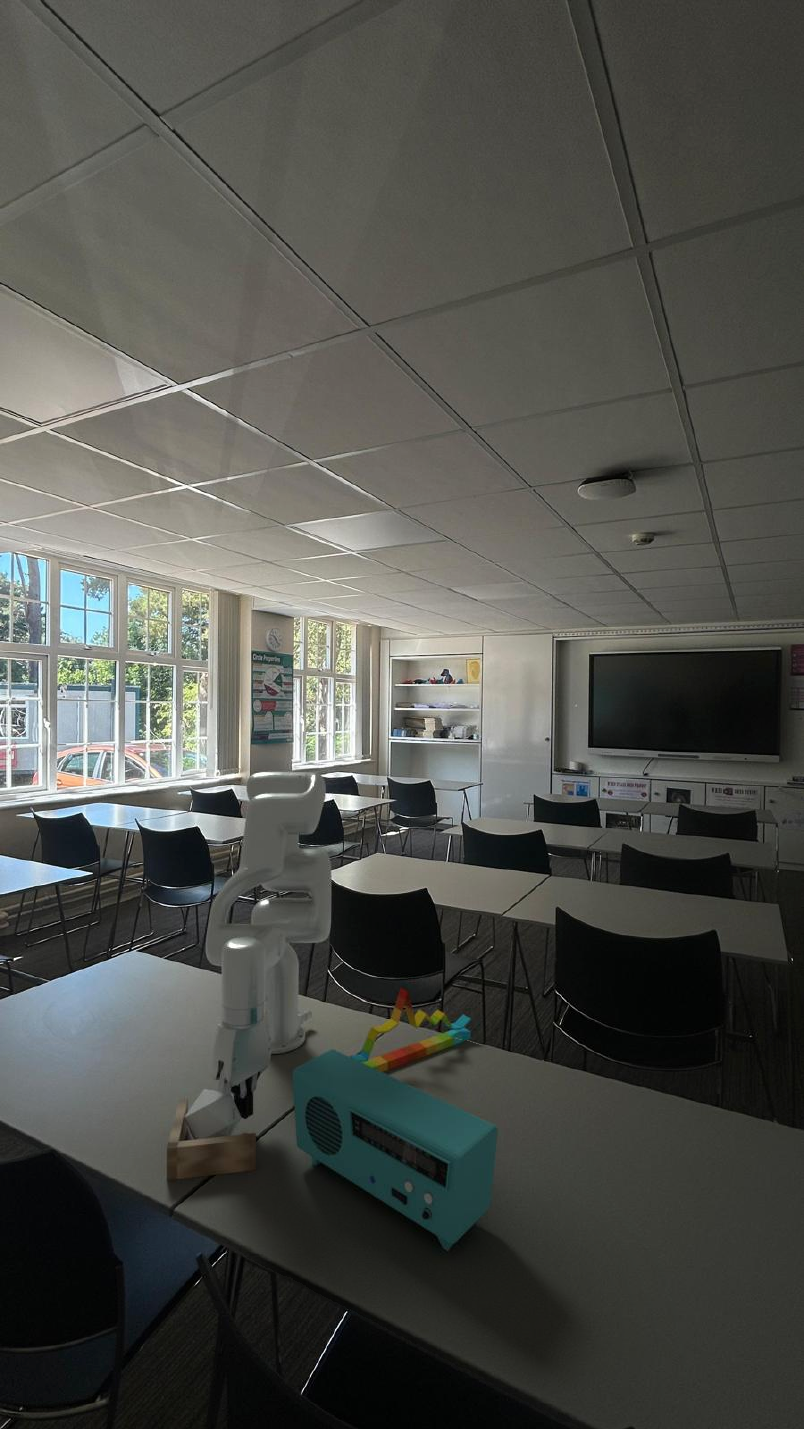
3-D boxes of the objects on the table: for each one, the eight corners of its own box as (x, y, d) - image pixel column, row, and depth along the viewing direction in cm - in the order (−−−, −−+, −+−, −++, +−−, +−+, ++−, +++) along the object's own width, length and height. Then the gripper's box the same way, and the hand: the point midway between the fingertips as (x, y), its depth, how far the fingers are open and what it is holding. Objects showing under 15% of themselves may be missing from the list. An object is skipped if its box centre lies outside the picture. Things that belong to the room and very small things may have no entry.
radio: (285, 1162, 109) (286, 1070, 109) (332, 1132, 117) (332, 1046, 117) (456, 1277, 87) (457, 1161, 87) (499, 1230, 95) (500, 1124, 95)
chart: (461, 1034, 154) (461, 968, 154) (470, 1039, 151) (470, 973, 151) (347, 1075, 136) (348, 1001, 136) (356, 1082, 133) (356, 1007, 133)
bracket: (183, 1125, 119) (183, 1096, 119) (260, 1166, 108) (260, 1135, 108) (130, 1157, 110) (130, 1127, 110) (207, 1205, 99) (207, 1172, 99)
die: (200, 1169, 109) (236, 1117, 110) (165, 1130, 112) (201, 1080, 113) (224, 1154, 116) (258, 1105, 117) (191, 1118, 119) (224, 1071, 120)
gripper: (259, 990, 126) (259, 1087, 126) (194, 1021, 113) (194, 1129, 114) (289, 1000, 122) (288, 1100, 122) (225, 1033, 109) (225, 1145, 109)
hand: (243, 1114), depth 118 cm, fingers closed
